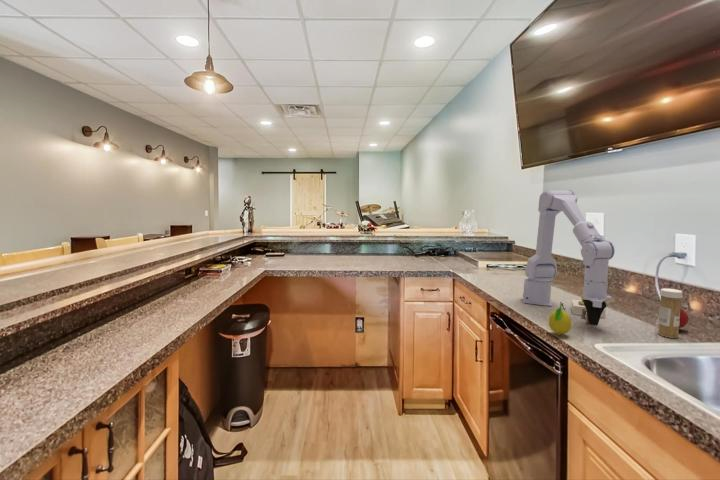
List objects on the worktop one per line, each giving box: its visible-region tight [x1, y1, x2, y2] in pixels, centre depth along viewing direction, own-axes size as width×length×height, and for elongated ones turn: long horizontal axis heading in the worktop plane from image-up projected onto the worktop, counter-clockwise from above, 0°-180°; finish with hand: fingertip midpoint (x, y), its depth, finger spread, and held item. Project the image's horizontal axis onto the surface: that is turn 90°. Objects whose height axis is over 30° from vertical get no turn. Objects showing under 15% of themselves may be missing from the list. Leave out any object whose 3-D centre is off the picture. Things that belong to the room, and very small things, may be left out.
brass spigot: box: [580, 291, 588, 309], centre depth 116 cm, size 4×4×7 cm
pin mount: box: [581, 309, 587, 320], centre depth 110 cm, size 4×2×3 cm, turn 60°
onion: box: [679, 307, 690, 329], centre depth 99 cm, size 6×6×8 cm
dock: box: [571, 299, 606, 319], centre depth 116 cm, size 9×9×3 cm
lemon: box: [548, 301, 572, 336], centre depth 96 cm, size 7×6×10 cm
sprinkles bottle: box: [657, 287, 683, 339], centre depth 94 cm, size 5×5×13 cm
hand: (593, 324), depth 101 cm, fingers closed
